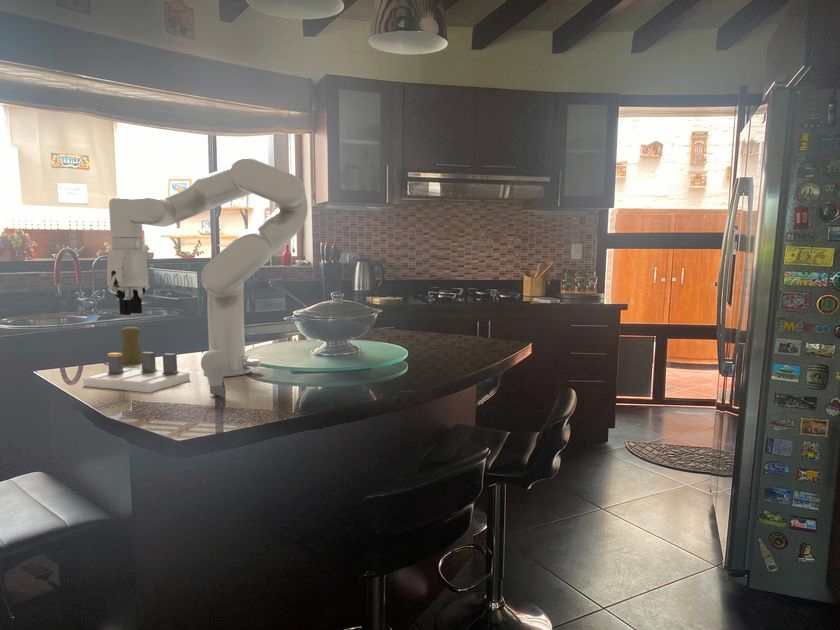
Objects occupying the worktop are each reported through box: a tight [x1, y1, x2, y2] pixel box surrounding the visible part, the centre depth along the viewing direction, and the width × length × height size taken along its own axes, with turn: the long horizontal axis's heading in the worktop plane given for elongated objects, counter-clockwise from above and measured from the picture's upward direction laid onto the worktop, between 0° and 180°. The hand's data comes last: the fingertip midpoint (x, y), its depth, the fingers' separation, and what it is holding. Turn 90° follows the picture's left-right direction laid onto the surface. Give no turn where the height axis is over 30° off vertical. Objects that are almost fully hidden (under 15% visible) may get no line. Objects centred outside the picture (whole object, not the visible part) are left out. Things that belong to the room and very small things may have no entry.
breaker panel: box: [82, 367, 191, 393], centre depth 152 cm, size 14×21×2 cm, turn 71°
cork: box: [120, 326, 142, 366], centre depth 178 cm, size 6×6×11 cm
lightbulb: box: [200, 350, 228, 397], centre depth 138 cm, size 6×6×11 cm
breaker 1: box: [140, 351, 158, 373], centre depth 155 cm, size 3×3×5 cm
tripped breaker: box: [107, 352, 125, 374], centre depth 154 cm, size 3×3×5 cm
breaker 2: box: [162, 352, 180, 375], centre depth 153 cm, size 3×3×5 cm
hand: (131, 313), depth 158 cm, fingers open, 3 cm apart
